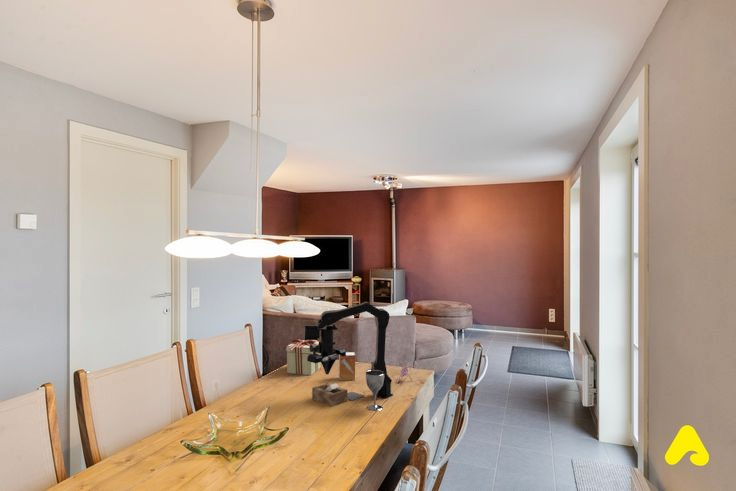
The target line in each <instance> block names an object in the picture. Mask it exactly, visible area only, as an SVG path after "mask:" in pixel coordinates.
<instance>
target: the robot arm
mask: <svg viewBox="0 0 736 491" xmlns="http://www.w3.org/2000/svg"><path fill="white" fill-rule="evenodd" d="M366 312H367V313H369V314H370V315H372V316H373V317H374V324H375V327H376V336H375V337H376V340H375V359H374V361H370V364H371V367H370V370H380V371H383V372H384V383H383V386H382V388H381V389H380V390H379V391H378V393H377V395H376V397H378V398H382V399H388V398H389V397H392V396H394V394H393V393H392V382H393V380H392V378H391V377H390V376H389V375H388V372H387V366H386V364H387V363H386V360H385V359H386V358H385V356H386V355H385V354H386V338H387V336H386V334H387V328H388V325H389V321H390V313H389V312H388V311H387V310H386V309H384V308H378V307H375V306H374V305H372V304H370V303H369V302H368V301H363V302H362V303H358V304H355V305H352V306H348V307H345V308H342V309H336V310H335V309H334V310H332V309H331V310H324V311H323V312H322V313H321V315H320V318H319V320H318V321H317V323H316V324H305V325H304V332H303V338H304V340H303V341H306V340H317V341H318V339H319V338H320V341H318V342H319V345H317V346H315V344H312V345H310V347H309V349H310V352H313V354H310V355H308V357H307V361H309V362H312V363H319V362H321V366H322V367H323V370H324V373H325V375H329V374H330V372H331V370H332V368H333V366H334V365H335V364H334V363H335V362H336V361H337V360H338V358H337V357H336V356H339V354H340V356H346V352H347V351H346V349H344V348H340V347H336V348H334V345H336V341H334V339H335V338H334V335H335V334H334V333H335V332H334V331H337V330H339V329H338V326H337V325H335V324H337V322H339V321H340V320H343V319H346V318H348V317H353V316H356V315H359V314H362V313H366ZM317 352H318V353H319V354H320V355H319V354H315V353H317Z"/></svg>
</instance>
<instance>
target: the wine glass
mask: <svg viewBox="0 0 736 491" xmlns="http://www.w3.org/2000/svg"><path fill="white" fill-rule="evenodd" d="M365 383H366V387H367V388H368V389H369V390H370V392H371V393H372V396H373V404H368V405H367V406H366V409H367V410H368V411H371V412H379V411H382V410H383V409H384V407H383V406H382V405H380V404H377V403H376V402H377V396H376V395H377V393H378V391H379V390H380V389H381V388H382V386H383V383H384V372H383V371H380V370H371V369H370V370H367V371H366V372H365Z"/></svg>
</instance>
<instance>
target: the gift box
mask: <svg viewBox="0 0 736 491" xmlns="http://www.w3.org/2000/svg"><path fill="white" fill-rule="evenodd" d="M290 342H292V343H290V344H288V345H287V346H286V347H285V348H286V349H285V350H286V351H285V352H286V373H287V374H292V375H303V376H312V375H314V373H316V372H318V371H319V370H320V369H321V368H322V363H321V362H319V363H312V362H309V361H307V357H308V355H310V354H313V352H310V349H309V347H310V345H312V344H315V346H317V345H319V342H320V341H318V339H317V340H306V341H304V340H302V339H298V338H297V339H296V338H295V339H291V340H290ZM315 354H319V353H318V352H317V353H315ZM319 355H320V354H319Z"/></svg>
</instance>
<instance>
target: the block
mask: <svg viewBox="0 0 736 491" xmlns="http://www.w3.org/2000/svg"><path fill="white" fill-rule="evenodd" d="M338 387H339V385H338V383H337V382H336V383H333V384H331V385H330V386H329V387H327V388H326V389H325V390H326V391H329V392H334V391H335V390H336V389H337V388H338Z"/></svg>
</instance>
